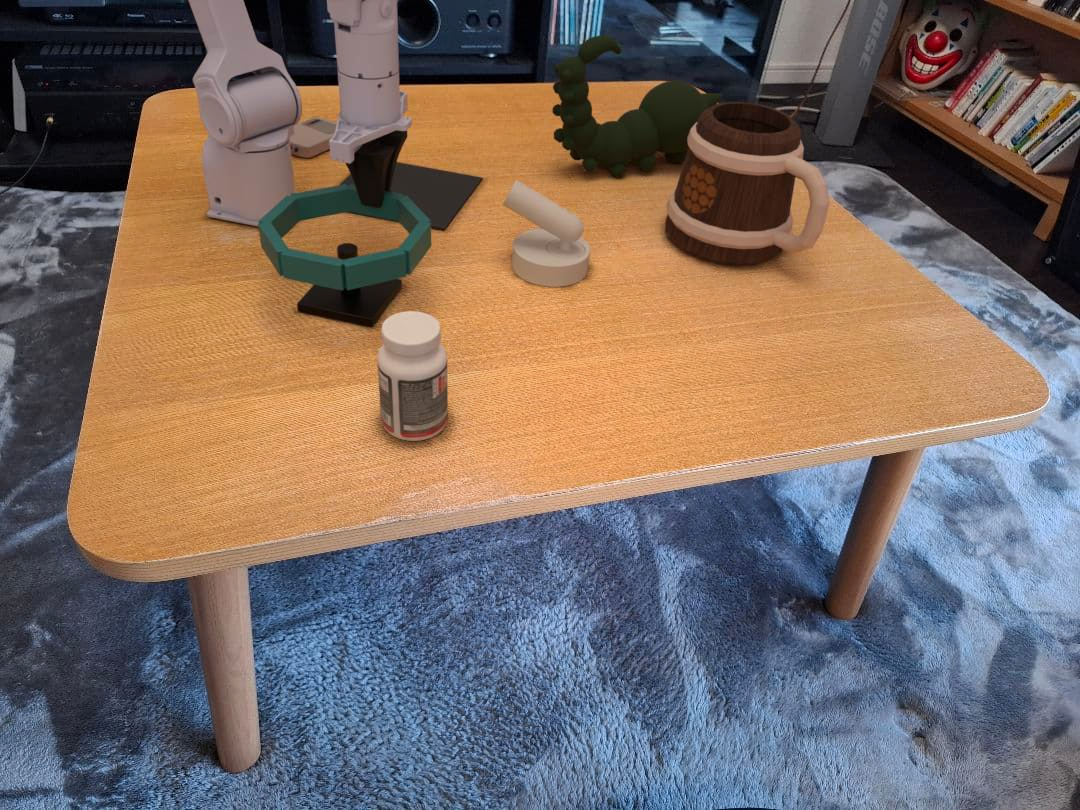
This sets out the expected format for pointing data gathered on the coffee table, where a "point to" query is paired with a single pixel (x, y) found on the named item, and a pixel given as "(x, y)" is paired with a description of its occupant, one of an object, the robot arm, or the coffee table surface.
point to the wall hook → (547, 240)
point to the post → (350, 297)
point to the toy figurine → (624, 117)
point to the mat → (431, 191)
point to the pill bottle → (412, 376)
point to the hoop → (352, 269)
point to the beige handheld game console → (312, 137)
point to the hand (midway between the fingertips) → (375, 201)
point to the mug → (744, 187)
